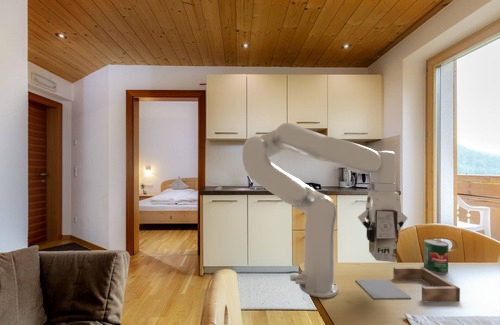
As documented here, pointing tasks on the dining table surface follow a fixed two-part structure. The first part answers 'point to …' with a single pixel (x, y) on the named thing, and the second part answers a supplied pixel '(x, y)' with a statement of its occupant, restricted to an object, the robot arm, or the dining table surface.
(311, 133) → the robot arm
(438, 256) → the canned tomato
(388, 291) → the mat
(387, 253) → the coffee box
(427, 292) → the cubby
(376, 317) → the dining table surface
